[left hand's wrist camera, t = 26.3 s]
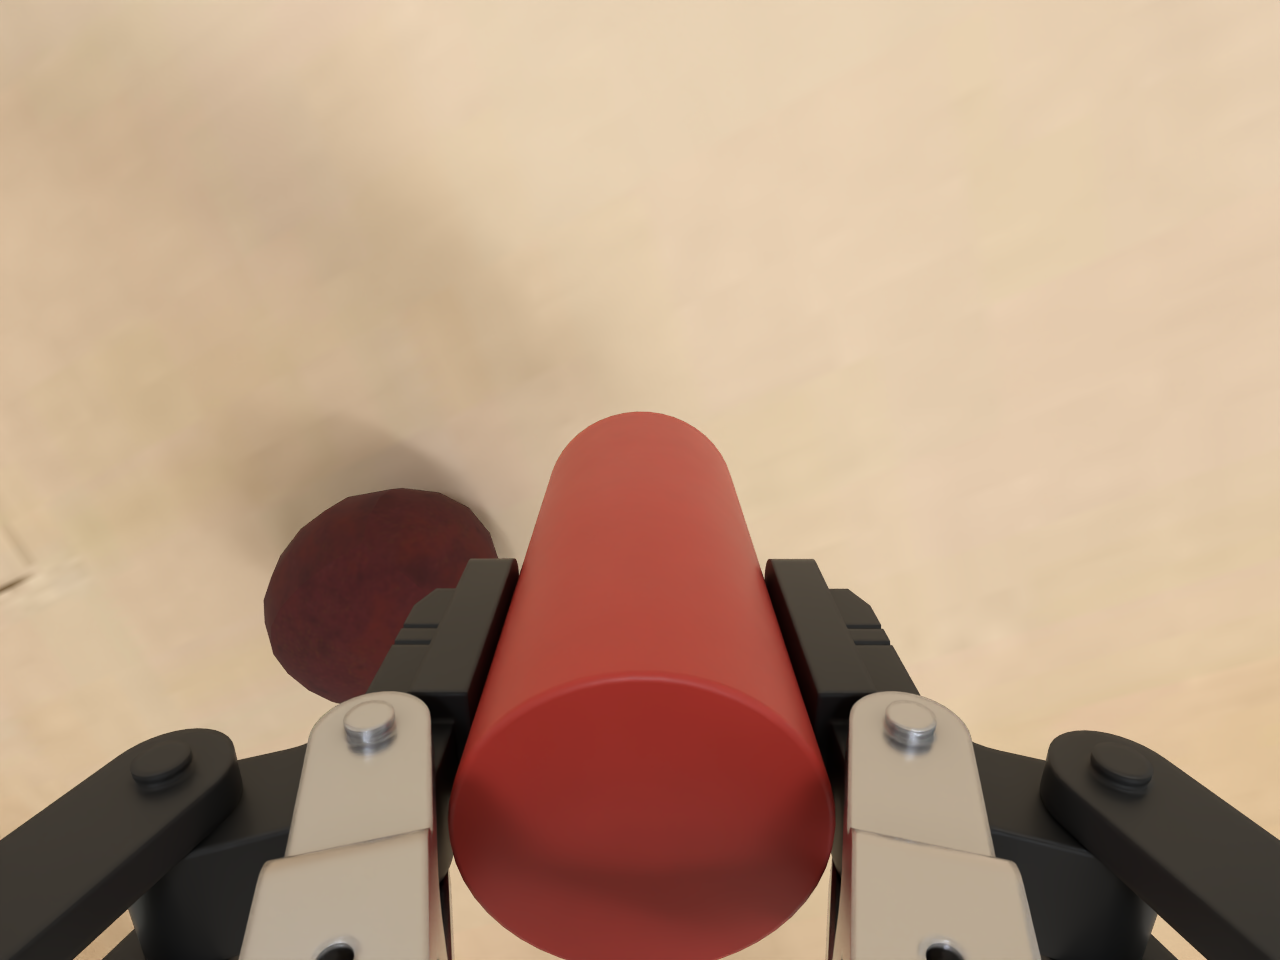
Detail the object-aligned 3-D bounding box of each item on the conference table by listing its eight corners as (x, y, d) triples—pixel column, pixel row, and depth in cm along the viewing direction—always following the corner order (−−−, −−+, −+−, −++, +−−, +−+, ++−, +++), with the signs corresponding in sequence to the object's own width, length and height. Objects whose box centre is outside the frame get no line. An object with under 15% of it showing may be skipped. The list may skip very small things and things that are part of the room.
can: (767, 462, 16) (916, 772, 7) (678, 607, 17) (716, 1016, 9) (598, 377, 15) (545, 609, 7) (518, 535, 17) (389, 901, 8)
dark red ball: (284, 557, 29) (176, 663, 22) (406, 416, 27) (328, 487, 20) (434, 668, 30) (377, 797, 24) (560, 544, 28) (535, 648, 22)
